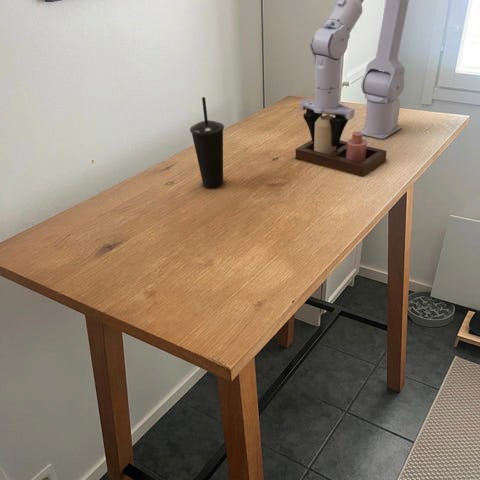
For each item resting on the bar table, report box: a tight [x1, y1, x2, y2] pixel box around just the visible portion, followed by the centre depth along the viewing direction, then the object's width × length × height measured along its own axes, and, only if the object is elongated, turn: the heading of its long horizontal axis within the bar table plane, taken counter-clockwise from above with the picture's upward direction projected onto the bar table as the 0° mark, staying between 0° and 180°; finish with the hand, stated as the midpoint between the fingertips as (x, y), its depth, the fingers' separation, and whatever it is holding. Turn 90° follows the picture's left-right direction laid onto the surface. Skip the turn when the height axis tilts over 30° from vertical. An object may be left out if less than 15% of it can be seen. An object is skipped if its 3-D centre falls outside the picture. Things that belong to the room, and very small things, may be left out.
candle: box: [314, 114, 336, 154], centre depth 127 cm, size 6×6×10 cm
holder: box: [295, 139, 388, 177], centre depth 126 cm, size 11×20×3 cm, turn 48°
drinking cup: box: [189, 96, 225, 190], centre depth 115 cm, size 8×8×20 cm
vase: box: [346, 131, 368, 162], centre depth 122 cm, size 5×5×8 cm
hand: (325, 142), depth 128 cm, fingers closed on candle, 5 cm apart
